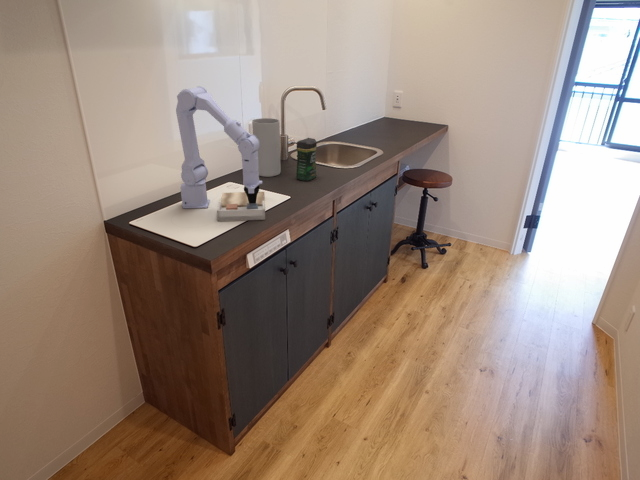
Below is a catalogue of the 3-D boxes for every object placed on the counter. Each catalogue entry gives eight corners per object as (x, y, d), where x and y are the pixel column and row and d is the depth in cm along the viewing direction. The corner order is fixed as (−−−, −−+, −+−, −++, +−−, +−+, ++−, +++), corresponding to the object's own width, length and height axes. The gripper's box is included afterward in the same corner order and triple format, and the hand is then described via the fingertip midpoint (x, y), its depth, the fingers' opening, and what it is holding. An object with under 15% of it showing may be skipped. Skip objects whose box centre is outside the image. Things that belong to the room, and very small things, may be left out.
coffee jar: (308, 182, 192) (308, 142, 183) (293, 179, 195) (293, 139, 187) (318, 177, 199) (319, 138, 191) (305, 174, 203) (305, 135, 194)
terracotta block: (226, 214, 152) (225, 208, 151) (227, 210, 156) (226, 204, 155) (237, 214, 153) (237, 207, 152) (238, 209, 156) (237, 203, 155)
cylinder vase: (278, 168, 210) (276, 117, 199) (282, 176, 199) (281, 123, 188) (253, 170, 207) (250, 118, 196) (256, 178, 196) (253, 123, 185)
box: (218, 221, 151) (216, 211, 149) (220, 211, 159) (219, 201, 157) (265, 219, 153) (264, 209, 151) (264, 210, 161) (264, 200, 159)
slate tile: (247, 213, 153) (246, 207, 152) (247, 209, 157) (247, 203, 156) (258, 213, 154) (257, 207, 153) (258, 209, 157) (257, 203, 156)
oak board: (220, 211, 159) (219, 205, 158) (222, 198, 171) (222, 192, 170) (264, 210, 161) (264, 204, 160) (264, 197, 173) (264, 191, 172)
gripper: (261, 176, 145) (263, 212, 151) (261, 164, 158) (263, 197, 164) (241, 176, 144) (243, 212, 150) (242, 164, 157) (245, 198, 163)
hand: (252, 205), depth 157 cm, fingers closed
